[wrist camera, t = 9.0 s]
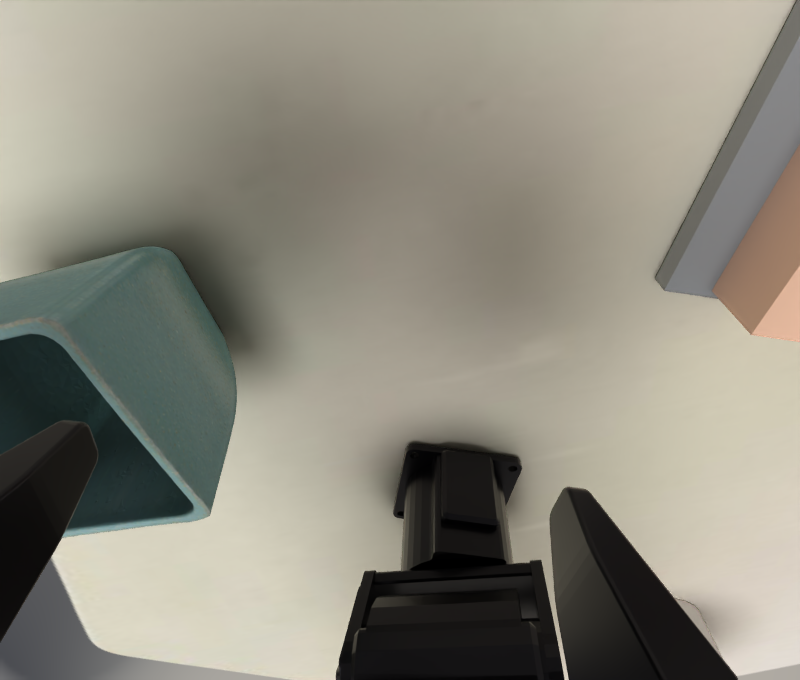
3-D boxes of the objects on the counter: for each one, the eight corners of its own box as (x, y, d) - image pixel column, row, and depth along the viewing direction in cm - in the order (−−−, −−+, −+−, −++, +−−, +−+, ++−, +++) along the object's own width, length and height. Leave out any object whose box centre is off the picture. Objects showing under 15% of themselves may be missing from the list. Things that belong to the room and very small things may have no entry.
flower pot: (191, 190, 19) (44, 317, 12) (280, 361, 24) (214, 522, 17) (12, 239, 21) (-209, 374, 14) (129, 388, 26) (12, 545, 19)
